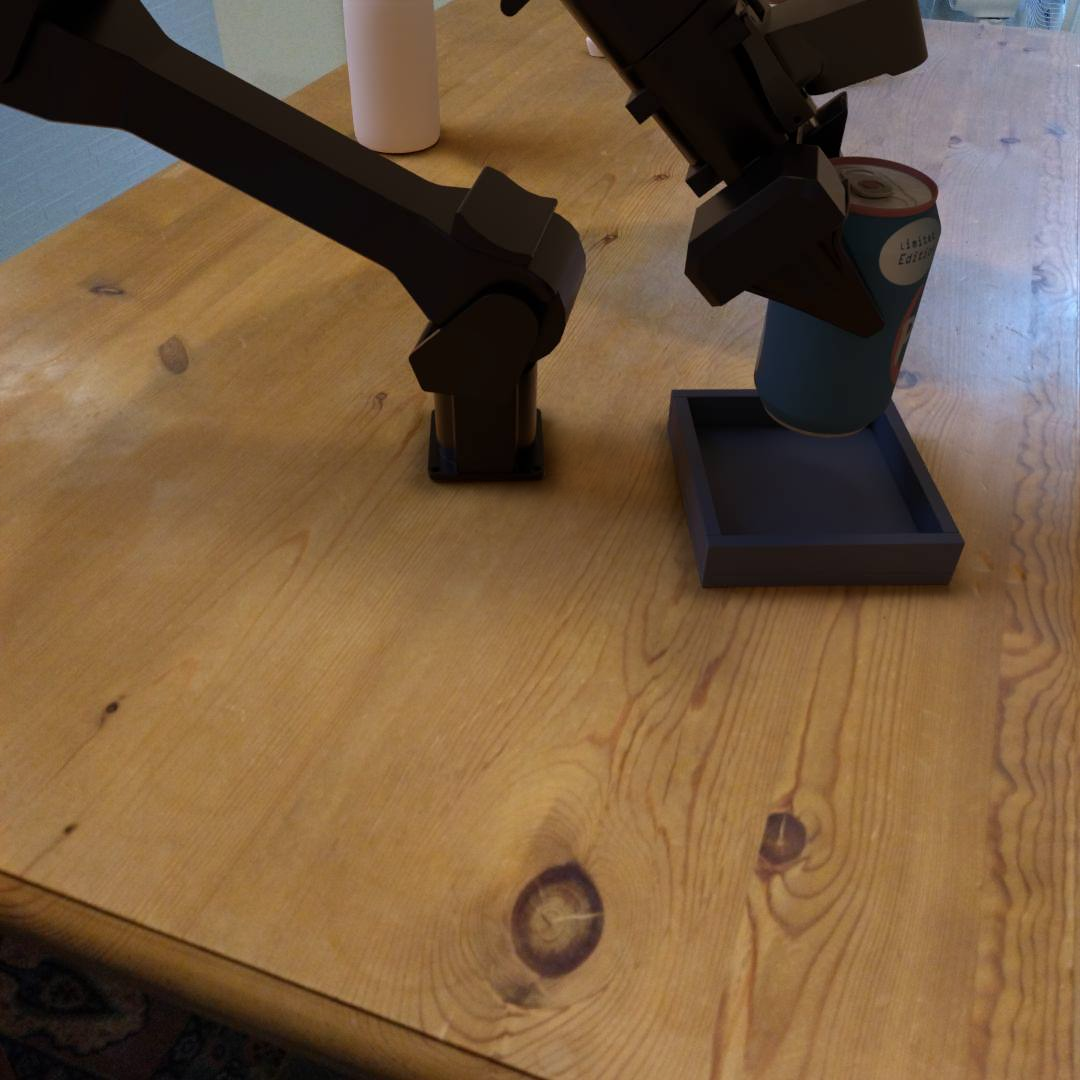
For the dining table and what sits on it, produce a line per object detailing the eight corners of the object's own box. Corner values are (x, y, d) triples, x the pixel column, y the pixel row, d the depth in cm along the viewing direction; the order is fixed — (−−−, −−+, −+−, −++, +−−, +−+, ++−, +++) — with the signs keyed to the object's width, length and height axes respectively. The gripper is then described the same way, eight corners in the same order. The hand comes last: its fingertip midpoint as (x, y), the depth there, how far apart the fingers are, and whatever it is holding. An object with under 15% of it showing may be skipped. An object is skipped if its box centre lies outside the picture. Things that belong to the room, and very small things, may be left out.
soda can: (908, 439, 53) (982, 210, 45) (777, 452, 52) (829, 219, 44) (852, 364, 58) (910, 147, 50) (731, 374, 57) (770, 153, 49)
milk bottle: (452, 149, 94) (442, -110, 81) (367, 160, 92) (343, -105, 79) (426, 119, 100) (413, -128, 87) (346, 129, 98) (320, -124, 84)
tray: (950, 584, 53) (966, 543, 51) (701, 587, 53) (708, 546, 51) (875, 427, 63) (886, 387, 62) (666, 428, 63) (671, 389, 61)
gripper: (837, -69, 33) (1076, 295, 39) (837, -163, 47) (1014, 117, 53) (575, 153, 39) (815, 438, 45) (643, 13, 53) (820, 245, 59)
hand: (874, 294), depth 50 cm, fingers closed on soda can, 7 cm apart
